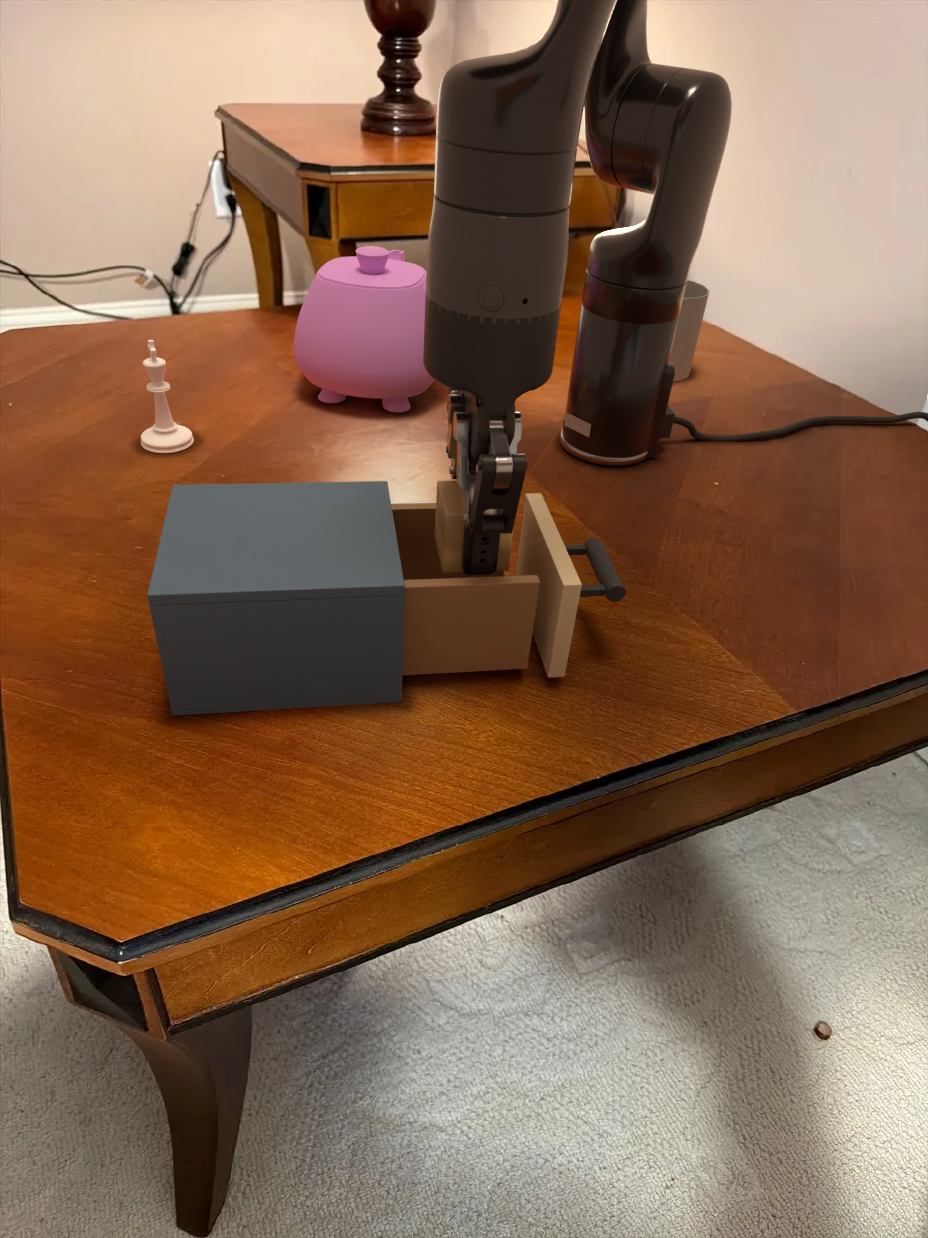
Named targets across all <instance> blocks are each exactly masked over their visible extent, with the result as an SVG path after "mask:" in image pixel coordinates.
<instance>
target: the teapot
mask: <svg viewBox="0 0 928 1238" xmlns="http://www.w3.org/2000/svg"><path fill="white" fill-rule="evenodd" d="M355 253H356V256H340V257H335V258H332V259H331V260H328V261H327V262H326V263H324V264H323V265H322V266H321V267H320V268H318V270H317V271H316V274H315V276H314V277H313V279H312V282H311V284H310V286H309V288H308V291H307V293H306V295H305V298H304V300H303V302H302V305H301V308H300V311H299V314H298V317H297V320H296V325H295V332H294V338H293V339H294V340H293V358H294V361H295V363H296V365H297V367H298V369H299V370H300V371H301V373H302V374H303V376H304V377H305V378H306V379H307V380H308V382H309V383H311V384H312V385H313V386H315V387H318V388H320V389H321V391H320V393H319V394H318V396H317V399H318V401H320V402H322V403H327V404H337V403H341V402H342V403H343V402H344V401H345V400H346V399H347V396H348V397H349V396H350V397H357V398H363V399H364V398H366V399H381V402H382V408H383V409H384V410H385V411H387V412H390V413H403V412H407V411H409V410H410V409H411V404H410V402H409V399H408V398H411V397H415V396H418V395H421V394H422V393H424V392H425V391H427V390H428V389H429V388H430V387H431V386H432V385H433V383H434V382H435V381H436V380H435V379H433V378H432V377H431V376H430V375H429V374H428V372H427V371H426V369H425V367H424V363H423V351H424V322H425V294H426V269H425V268H424V267H422V266H420V265H418V264H415V263H413V262H409V261H406V251H405V250H401V249H400V250H399V249H391V250H390V251H389V250H388V249H386V248H384V247H381V246H376V245H364V246H361V247H358V248H356V249H355Z"/></svg>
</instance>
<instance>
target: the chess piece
mask: <svg viewBox="0 0 928 1238" xmlns="http://www.w3.org/2000/svg"><path fill="white" fill-rule="evenodd" d="M147 348H148V352H149V356H150V357H148V358H145V359H144V360H143V361H142V366H143V368H144V369H145V372H146V374H147V375H148V377H149V379H150V382H148V383H147V384H146V391H148V392H149V393H153V397H154V399H153V400H154V415H155V417H154V420H155V421H154V424H152V426H150V427H149V428H147V429H144V431H143V432H142V433H141V435H140V446H141V447H142V449H144V450H146V451H148V452H151V453H156V454H172V453H177V452H182V451H184V450H186V449H188V448H190V447H191V446H192V445H193V444H194V441H195V438H194V436H193V432H192V431H191V429H189V428H188V427H186V426H184V425H180V424H178V423H177V422H175V421H174V419H173V416H172V412H171V410H170V407H169V403H168V400H167V396H166V392H168V391H170V389H171V384H170V383H169V382H168V381H164V378H165V370H166V367H167V362H166V360H165V359H164V358H161V357H158V353H157V349H156V346H155V340H153V339H147Z"/></svg>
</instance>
